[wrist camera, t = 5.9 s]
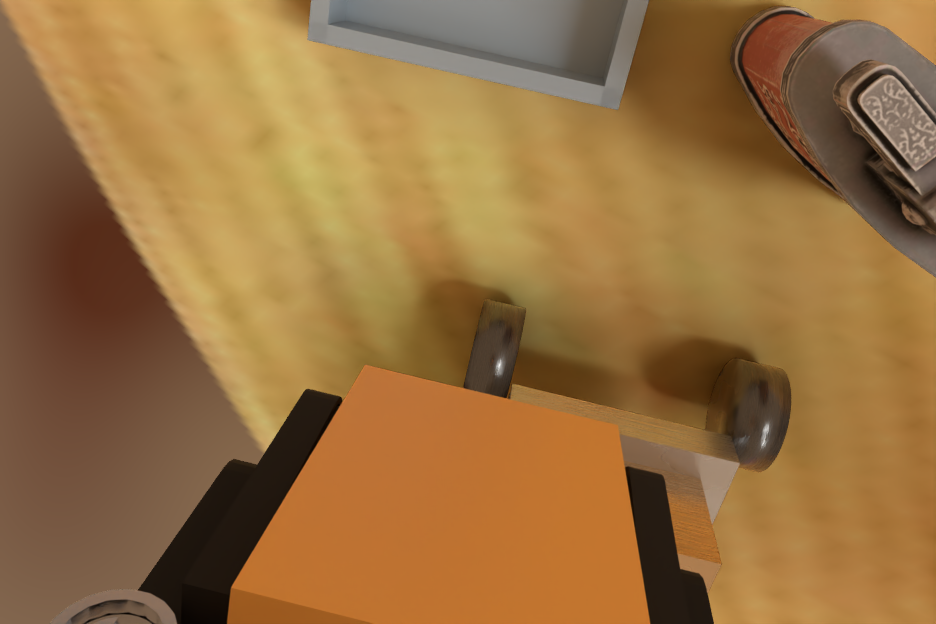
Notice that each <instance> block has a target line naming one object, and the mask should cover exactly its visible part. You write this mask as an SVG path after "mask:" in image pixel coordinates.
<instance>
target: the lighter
mask: <svg viewBox="0 0 936 624" xmlns="http://www.w3.org/2000/svg"><path fill="white" fill-rule="evenodd" d="M730 62H731V65H732V69H733V72H734V73H735V75H736V77H737V79H738V81H739V82H740V84H741V86H742V88H743V90H744V91H745V93H746V95H747V97H748V99H749V100H750V102H751V104H752V106H753V108H754V109H755V111H756V112H757V113H758V115H759V116H760V117H761V119H762V120H763V121H764V123H765V124H766V125H767V127H768V128H769V129H770V131H771V132H772V133H773V135H774V136H775V137H776V139H777V140H778V141H779V143H780V144H781V145H782V146H783V147H784V148H785V149H786V150H787V151H788V152H789V153H790V154H791V155H792V156H793V157H794V158H795V159H796V160H797V161H798V162H799V163H800V164H801V165H803V166H804V167H805V168H806V169H807V170H808V171H809V172H810V173H811V174H812V175H813V176H814V177H815V178H816V179H818V180H819V181H820V182H821V183H822V184H824V185H825V186H827V187H828V188H829V189H831V190H832V191H834V192H835V193H836V194H838V195H839V196H840V197H842V198H843V199H844V200H845V201H846V202H847V203H848V204H849V205H850V206H851V207H852V208H853V209H854V210H855V211H856V212H857V213H858V214H859V215H860V216H861V217H862V218H863V219H865V220H866V221H867V222H868V223H869V224H870V225H871V226H872V227H873V228H874V229H875V230H876V231H877V232H878V233H879V234H880V235H881V236H882V237H883V238H884V239H885V240H887V241H888V242H889V243H890V244H891V245H892V246H893V247H894V248H896V249H897V250H898V251H900V252H901V253H902V254H904V255H905V256H907V257H908V258H909V259H911V260H912V261H914V262H915V263H916V264H918V265H919V266H921V267H922V268H923V269H925V270H926V271H927V272H929V273H930V274H932V275H933V276H934V277H936V65H934V64H933V63H932V62H930V61H929V60H928V59H927V58H925V57H924V56H923V55H921V54H920V53H919V52H917V51H916V50H915V49H914V48H912V47H911V46H910V45H908V44H907V43H906V42H904V41H903V40H902V39H901V38H899V37H898V36H897V35H895V34H894V33H893V32H891V31H890V30H889V29H887V28H885V27H883V26H881V25H878V24H876V23H874V22H870V21H865V20H840V21H837V22H834V23H831V22H826V21H822V20H817V19H815V18H813V17H812V16H811V15H809V14H808V13H807V12H804V11H802V10H800V9H797V8H794V7H789V6H774V7H772V8H769V9H766V10H763V11H760V12H759V13H758V14H756V15H755V16H753V17H752V18H750V19H749V20H748V21H747V22H746V23H745V24H744V25H743V27H742V28H741V29H740V30H739V31H738V33H737V35H736V37H735V39H734V42H733V44H732V46H731V54H730Z"/></svg>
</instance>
